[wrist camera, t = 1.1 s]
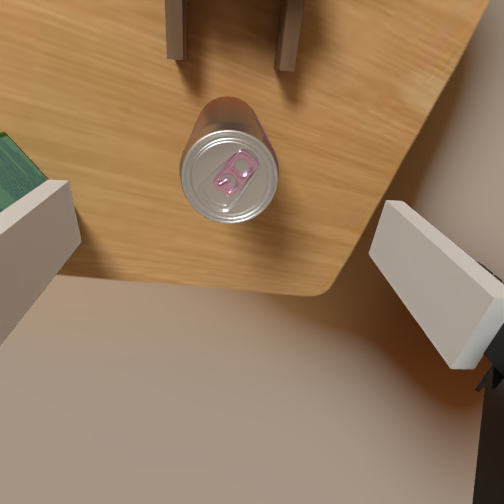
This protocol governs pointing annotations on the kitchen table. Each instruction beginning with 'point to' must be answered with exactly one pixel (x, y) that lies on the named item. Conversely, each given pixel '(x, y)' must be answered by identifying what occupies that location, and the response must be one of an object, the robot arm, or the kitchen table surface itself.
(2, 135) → the milk carton
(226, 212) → the beverage can
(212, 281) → the kitchen table surface
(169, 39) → the bracket
